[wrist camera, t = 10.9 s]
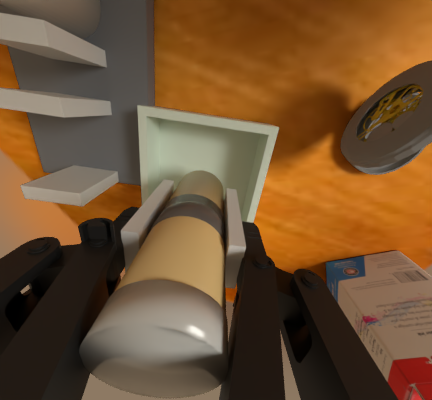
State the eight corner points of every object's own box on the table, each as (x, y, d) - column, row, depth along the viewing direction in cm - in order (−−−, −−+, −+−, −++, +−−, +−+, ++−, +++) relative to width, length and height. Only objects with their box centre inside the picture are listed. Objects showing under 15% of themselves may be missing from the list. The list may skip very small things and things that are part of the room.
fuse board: (-6, -78, 12) (-238, -269, 6) (153, -49, 12) (86, -201, 6) (56, 167, 19) (-19, 193, 13) (155, 181, 19) (125, 213, 13)
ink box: (325, 286, 25) (438, 483, 12) (324, 260, 23) (461, 463, 10) (394, 276, 24) (606, 484, 11) (400, 247, 22) (672, 460, 9)
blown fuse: (178, 166, 15) (63, 313, 4) (228, 173, 15) (242, 334, 4) (176, 209, 17) (92, 390, 6) (220, 215, 17) (217, 403, 6)
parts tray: (154, 106, 16) (137, 105, 13) (268, 123, 16) (279, 127, 13) (155, 221, 21) (143, 241, 18) (241, 233, 21) (244, 255, 18)
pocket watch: (409, 167, 17) (606, 228, 9) (317, 177, 18) (409, 243, 9) (444, 62, 14) (845, -22, 5) (329, 80, 15) (495, 35, 6)
